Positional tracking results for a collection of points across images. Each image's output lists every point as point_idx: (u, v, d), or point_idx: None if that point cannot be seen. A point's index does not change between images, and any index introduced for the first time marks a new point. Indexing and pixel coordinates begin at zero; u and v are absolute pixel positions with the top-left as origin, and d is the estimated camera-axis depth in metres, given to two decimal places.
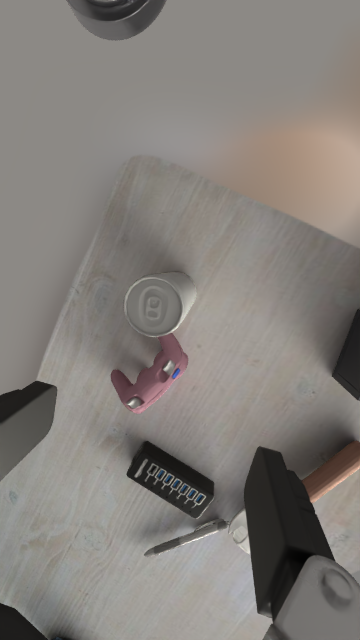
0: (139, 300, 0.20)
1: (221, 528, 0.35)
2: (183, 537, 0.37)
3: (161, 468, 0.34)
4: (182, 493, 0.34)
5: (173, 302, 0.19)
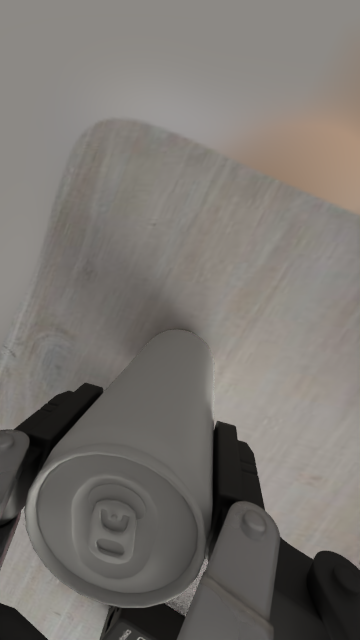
0: (72, 508, 0.06)
1: None
2: None
3: None
4: None
5: (175, 524, 0.06)
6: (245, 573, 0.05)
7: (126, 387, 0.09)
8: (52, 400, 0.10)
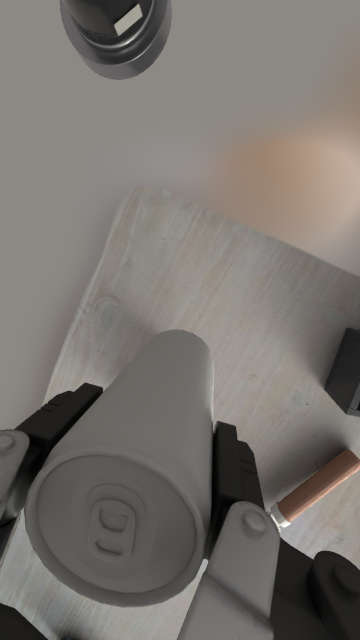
0: (71, 508, 0.07)
1: None
2: None
3: None
4: None
5: (173, 524, 0.06)
6: (245, 573, 0.05)
7: (125, 387, 0.09)
8: (52, 400, 0.10)
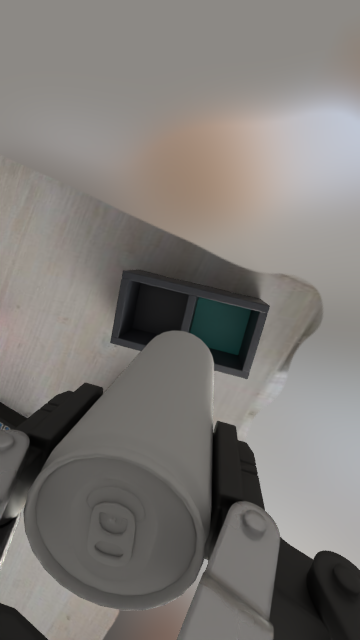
0: (71, 511, 0.06)
1: None
2: None
3: None
4: None
5: (173, 527, 0.06)
6: (245, 573, 0.05)
7: (125, 389, 0.09)
8: (52, 400, 0.10)
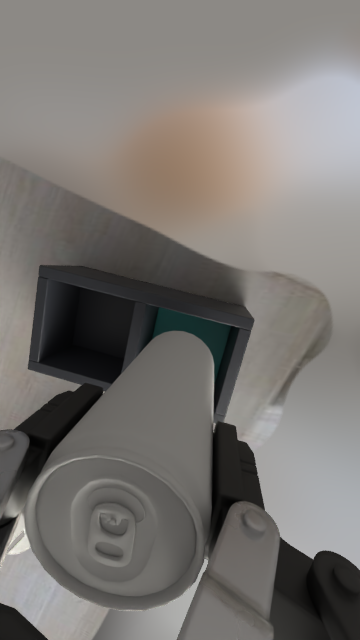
0: (71, 511, 0.06)
1: None
2: None
3: None
4: None
5: (174, 528, 0.06)
6: (245, 573, 0.05)
7: (126, 389, 0.09)
8: (52, 400, 0.10)
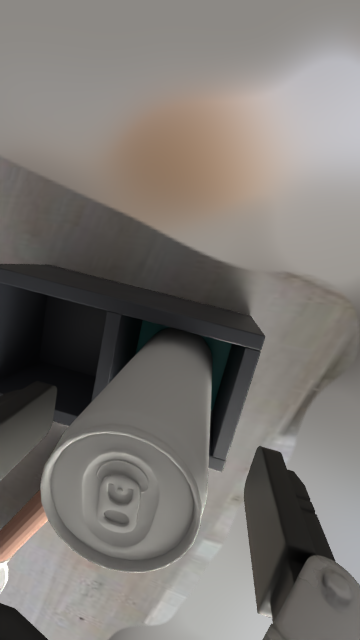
0: (82, 482, 0.07)
1: None
2: None
3: None
4: None
5: (174, 496, 0.07)
6: None
7: (130, 377, 0.10)
8: None
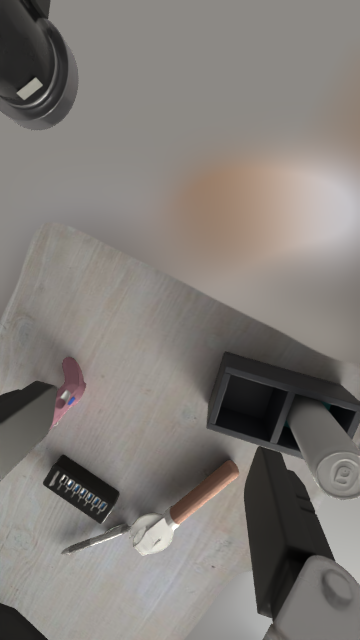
0: (331, 468, 0.23)
1: (123, 532, 0.41)
2: (93, 538, 0.42)
3: (70, 479, 0.40)
4: (88, 501, 0.40)
5: None
6: None
7: (326, 430, 0.25)
8: None
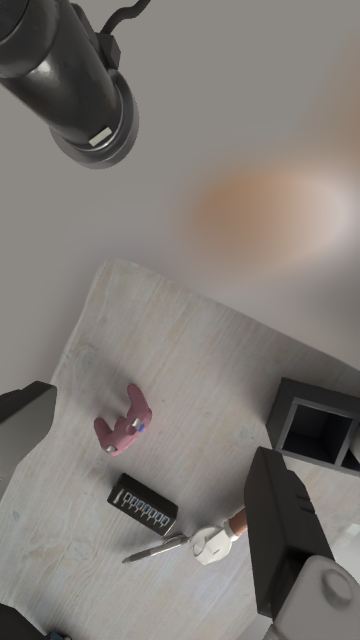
0: None
1: (183, 542, 0.44)
2: (153, 549, 0.45)
3: (134, 496, 0.42)
4: (151, 516, 0.42)
5: None
6: None
7: None
8: None
